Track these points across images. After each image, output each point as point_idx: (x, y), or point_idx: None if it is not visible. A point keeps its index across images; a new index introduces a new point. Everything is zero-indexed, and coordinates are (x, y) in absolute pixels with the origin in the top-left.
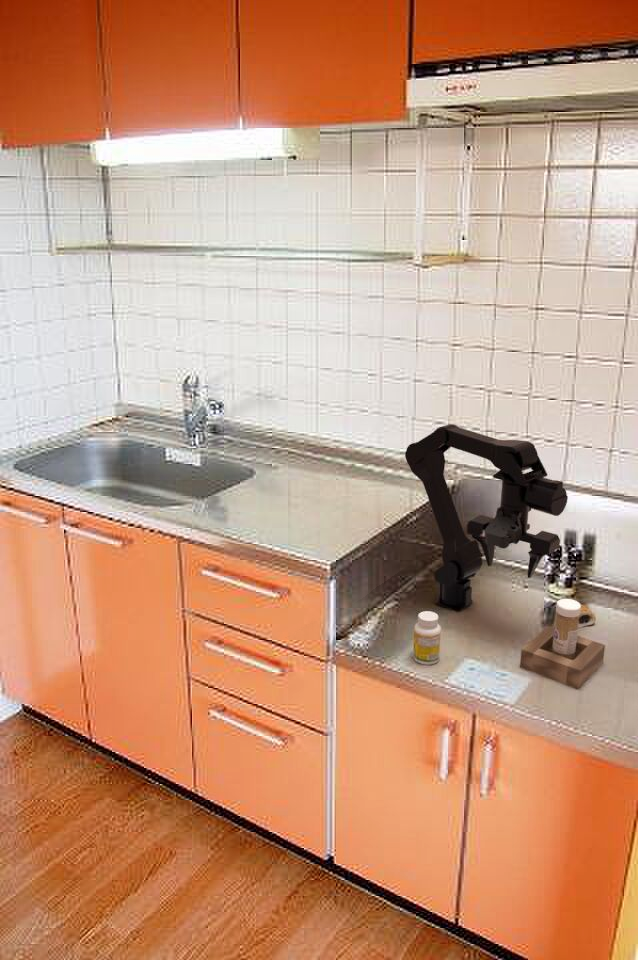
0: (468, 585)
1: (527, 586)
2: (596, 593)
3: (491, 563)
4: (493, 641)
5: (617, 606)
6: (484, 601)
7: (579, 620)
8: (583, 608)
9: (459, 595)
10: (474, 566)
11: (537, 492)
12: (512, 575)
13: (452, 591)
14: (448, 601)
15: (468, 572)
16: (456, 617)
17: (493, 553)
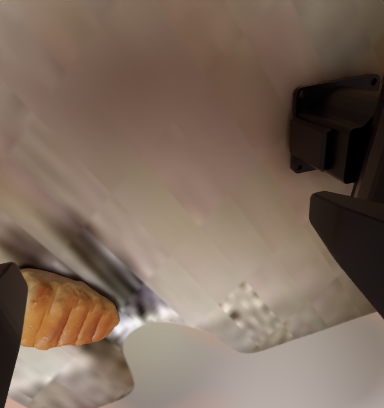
0: (334, 163)
1: (232, 319)
2: (113, 394)
3: (316, 221)
4: (96, 5)
5: (44, 394)
6: (269, 198)
7: None
8: (23, 337)
9: (332, 116)
10: (381, 193)
11: None
12: (281, 325)
13: (363, 99)
14: (346, 89)
15: (381, 143)
16: (283, 54)
17: (362, 285)
